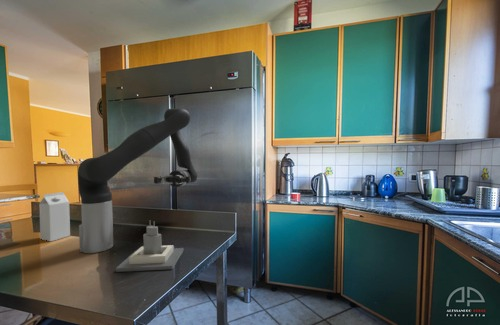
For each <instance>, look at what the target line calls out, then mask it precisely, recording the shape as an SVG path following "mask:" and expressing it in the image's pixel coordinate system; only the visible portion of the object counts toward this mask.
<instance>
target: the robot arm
mask: <svg viewBox="0 0 500 325" xmlns="http://www.w3.org/2000/svg"><path fill="white" fill-rule="evenodd" d="M163 115H164V116H163V119H164V120H162V121H158V122H156V123H155V122H154V123H152V124H149V125H146V126H144V127H142V128H139V129H137V130H136V131H134V132H133V133H131V134H130V135H129V136H127V137H126V138H125V139H124V140H123V141H122V143H121V144H119V145H118V146H117V147H116V148H114V149H112V150H110V151H109V152H107V153H104V154H102V155H100V156H97V157H89V158H86V159H84V160H82V161H81V163H79V166H78V168H77V181H78V182H77V183H78V193H79V197H80V201H81V202H80V203H81V207H80V208H81V224H79V225H78V232H79V233H78V235H79V237H78V238H79V241H78V242H79V253H84V254H96V253H101V252H104V251H108V250H110V249H111V248H112V247H113V246H114V225H113V223H114V222H113V221H114V220H113V194H112V192H111V190H110V189H109V184H108V181H110V180H111V179H112V178H113V177H115V176H116V175H117V174H118V173H119V172H120V171H122V170H123V168H125V167H126V166H127V165H129V164H130V163H132V162H134V161H135V160H137V159H139V158H140V157H141V156H143V155H144V154H146V153H147V152H149V151H150V150H152V149H153V148H155V147H156V146H157V145H158V144H160V143H162V142H163V141H165V140H166V139H168V138H169V137H170V140H171V142H172V146H173V148H174V149H173V150H174V152H175V156H176V157H175V158H176V162H177V166H178V167H179V168H183V170H182V169H181V170H180V169H179V170H178V169H177V170H171V172H170V173H169V174H168V175H162V176H161V175H159V176H154V177H153V184H156V185H157V184H158V185H159V184H162V185H170V186H171V187H173V188H180V187H182V186H185V185H186V184H191V183H196V182H197V180H198V173H197V171H196V170H195V167H194V165H193V164H192V158H191V154H190V149H189V147H188V145H187V144H186V141H185V140H184V138H183V136H182V134H181V130H183V129H184V128H186V127H187V126H188V125H189V124H190V121H191V114H190V112H189V111H188V110H186V109H185V108H176V107H175V108H168V109H166V110H165V111H164V114H163ZM184 169H186V170H184Z"/></svg>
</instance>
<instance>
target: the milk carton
mask: <svg viewBox="0 0 500 325" xmlns="http://www.w3.org/2000/svg"><path fill="white" fill-rule="evenodd" d="M38 205H39V230H40V231H39V234H40V235H39V236H40V240H41V239H42V240H43V241H46V240H47V241H48V242H54V241H57V240H60V239H64V238H67V237H71V222H70V221H71V219H70V216H71V215H70V201H69V199H68V197H67V196H66V195H65V192H64V191H62V192H54V193H53V192H52V193H44V194H43V198H42V199H41V201H40V202H39V203H38ZM47 241H46V242H47Z"/></svg>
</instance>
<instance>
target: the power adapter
mask: <svg viewBox="0 0 500 325" xmlns="http://www.w3.org/2000/svg"><path fill="white" fill-rule="evenodd" d="M151 223H152V222H151V221H149V225H148V226H146V233H144V234H143V236H142V238H143V246H144V255H152V254H162V246H163V245H162V244H163V243H162V234H161V233H159V227H158V226H155V225H156V223H155V222H153V225H152V224H151Z"/></svg>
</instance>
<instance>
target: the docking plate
mask: <svg viewBox="0 0 500 325" xmlns="http://www.w3.org/2000/svg"><path fill="white" fill-rule="evenodd" d="M183 252H184V247H178V248H177V247H176V248H175V247H174V245H173V244H172V245H171V244H170V245H169V244H168V245H162V254H152V255H144V245H142V246H140V247H139V248H138V249H136V250H134V252H132V253H131V254H129V256H128V257H127V258H126V259H124V260H123V261H122V262H121V263H120V264H119V265H118V266H116V268H115V272H116V273H119V272H122V273H123V272H139V271H141V272H142V271H144V272H145V271H158V270H159V271H161V270H163V271H165V270H173V269H174V267H175V266H176V264H177V263H178V261H179V259H180V258H181V256H182V254H183Z"/></svg>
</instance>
